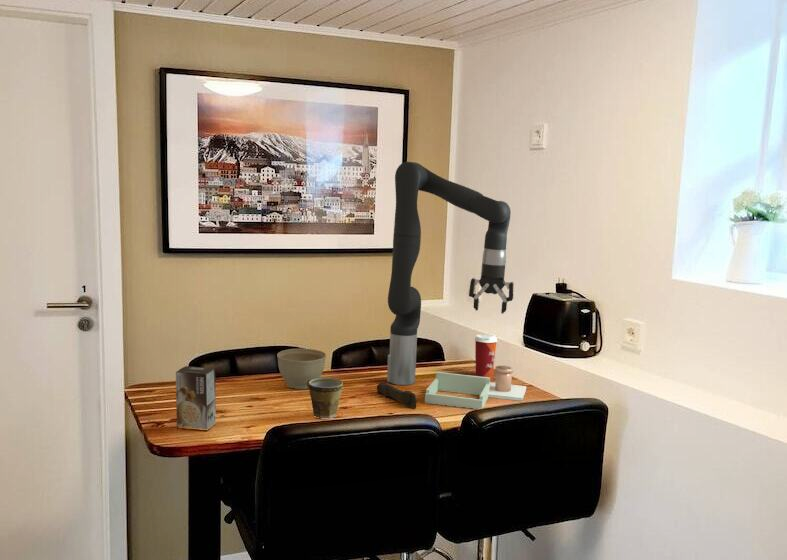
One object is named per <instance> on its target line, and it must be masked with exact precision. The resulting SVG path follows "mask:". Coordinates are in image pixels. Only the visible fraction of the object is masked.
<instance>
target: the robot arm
mask: <svg viewBox="0 0 787 560" xmlns="http://www.w3.org/2000/svg"><path fill="white" fill-rule="evenodd" d="M394 182H395V183H394V187H395V211H394V224H393V235H392V236H393V238H392V259H391V260H392V261H391V273H390V274H391V275H390V282H389V287H388V294H387V306H388V309H389V310H390V312H391V313H392V314H394V315H395V318H394V319H393V322H392V323H391V324H390V330H389V331H390V332H389V333H390V335H389V354H387V368H386V369H387V370H386V371H387V372H386V383H390V384H393V385H398V386H410V385H413V384H415V383H416V368H417V364H416V363H417V342H418V330H419V326H420V323H421V314H422V313H421V310H422V297H421V293H420V291H419V290H418V289H417V288H416V287H414V286H412V285H411V284H412V283H411V282H412V275H413V271H414V267H415V265H416V263H417V259H418V257H419V255H420V250H421V241H422V227H421V221H420V216H419V211H418V197H419V191H421V192H425V193H429V194H431V195H434V196H437V197H438V198H440V199H442V200H444V201H445V202H447V203H449V204H451V205H452V206H455V207H457V208H460V209H462V210H464V211H467V212H468V213H472V214H475V215H476V216H478V217H480V218H482V219H483V220H485V221H488V226H487V231H486V233H485V236H484V244H483V253H482V259H481V260H482V261H481V262H482V263H481V272H480V279H478V278H475V277H472V278H471V279H470V285H469V291H468V297H471V298H473V309H475V311H478V310H479V303H480V298H479V297H480V296H481V295H483V293H485V294H487V295H488V294H492V295H498V296H499V297H500V299H501V300H502V301H501V309H500V310H501V311H500V312H501V314H502V315H503V314H504V313H506V312H507V309H508V307H507V306H508V302H512V301H513V300H514V282H513V281H510V282H509V281H508V282H507V281H505V272H506V263H507V260H506V259H507V242H508V241H507V240H508V239H507V238H508V237H507V236H508V230H509V226H510V221H511V207H510V206H509V204H508V203H507V202H505V201H503V200H496V199H493V198H491V197H487V196H485V195H483V193H481V192H479V191H477V190H475V189H472V188H469V187H467V186H465V185H462V184H459V183H456V182H453V181H451V180H448V179H447V178H446V179H445V178H443V177H442V176H439V175H437V174H436V173H435V172H433V171H431V170H429V169H428V168H427V167H424V166H423V165H422V164H420V163H418V162H415V161H414V162H413V161H404V162H402V163H400V164H399V165H398V167H397V168H396V170H395V175H394ZM477 285H479V286H480V287H481V289H479V291H478V292H476V293H474V292H475V286H477ZM505 286H506V288H507V289H508V296H506V294H505V293H504V290H503V289H504V287H505Z"/></svg>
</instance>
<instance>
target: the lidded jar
mask: <svg viewBox="0 0 787 560" xmlns="http://www.w3.org/2000/svg"><path fill="white" fill-rule="evenodd" d="M494 370H495V383H496V384H495V390H497V391H500V392H509V391H511V385H512V377H513V373H514V367H512V366H509V365H496V366H495V367H494Z"/></svg>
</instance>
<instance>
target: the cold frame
mask: <svg viewBox="0 0 787 560" xmlns="http://www.w3.org/2000/svg"><path fill="white" fill-rule="evenodd" d="M490 382H491V378H488V377H479V376H476V375H470V374H469V375H468V374H459V373H452V372H451V373H450V372H443V371H435V379H434V380H433V381H432V382H431V383H430V384H429V386H428V387H427V388H426V390H425V394H424V403H425V404H430V405H437V404H438V405H439V406H445V405H447V407H453V406H456V407H455V408H461V407H466V408H465V409H469V408H473V409H472V410H478V409H479V408H484V406H485V405H486V403H487V401H488V399H489V397H488V394H489V389H490ZM438 391H440V392H441V391H442V392H449V393H450V392H451V393H457V394H458V393H459V394H466V393H467V394H468V395H475V396H479V393H480V392H482V393H481V395H480V396H479V398H471V397H465V396H457V395H456V396H455V395H447V394H437V392H438ZM467 394H466V395H467Z"/></svg>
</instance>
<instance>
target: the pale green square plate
mask: <svg viewBox="0 0 787 560" xmlns="http://www.w3.org/2000/svg"><path fill="white" fill-rule="evenodd" d="M495 384H496V382H491V381H490V389H489V394H488V398H493V399H503V400H508V401H509V400H510V401H519V402H522V401H523V400H524V397H525V393H526V391H527V386H526V385H516V384H511V391H509V392H500V391H497V390H495ZM481 393H482V392H480V393H479V395H478V396H479V397H480V395H481Z"/></svg>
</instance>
